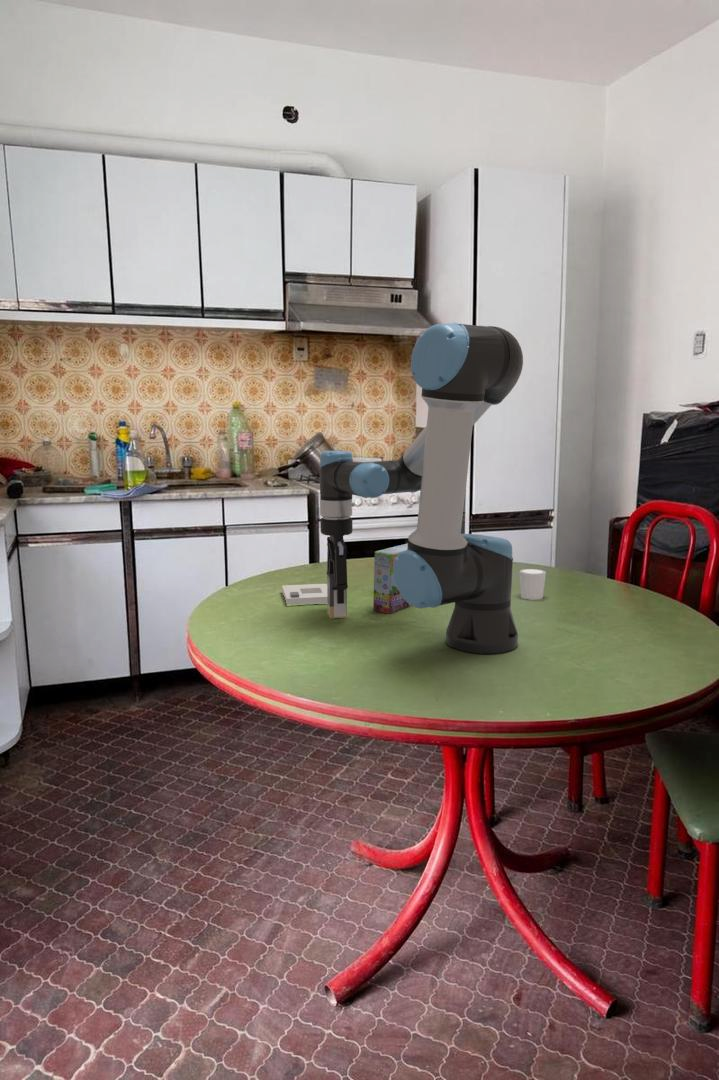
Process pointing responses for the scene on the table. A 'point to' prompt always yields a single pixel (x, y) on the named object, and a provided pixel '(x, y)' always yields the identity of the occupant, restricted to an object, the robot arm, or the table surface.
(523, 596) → the white cup
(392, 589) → the snack box
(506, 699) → the table surface
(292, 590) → the socket plate
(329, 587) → the plug
